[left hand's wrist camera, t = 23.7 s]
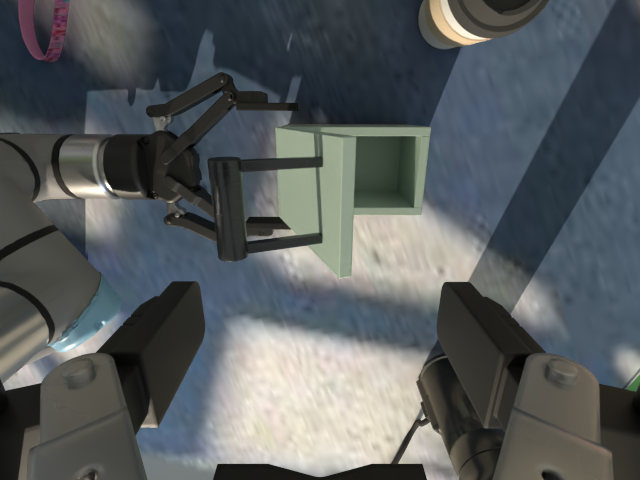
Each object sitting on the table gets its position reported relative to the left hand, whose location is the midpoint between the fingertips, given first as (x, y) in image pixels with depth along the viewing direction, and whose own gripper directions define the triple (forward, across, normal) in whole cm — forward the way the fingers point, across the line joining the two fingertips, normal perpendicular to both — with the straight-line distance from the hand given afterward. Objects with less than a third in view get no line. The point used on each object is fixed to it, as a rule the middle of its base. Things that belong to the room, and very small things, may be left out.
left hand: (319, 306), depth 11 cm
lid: (+19, +1, 0) cm, 19 cm away
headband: (+37, +32, -17) cm, 52 cm away
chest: (+37, -4, 0) cm, 37 cm away
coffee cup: (+37, -15, -17) cm, 43 cm away
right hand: (+31, +2, 0) cm, 31 cm away
